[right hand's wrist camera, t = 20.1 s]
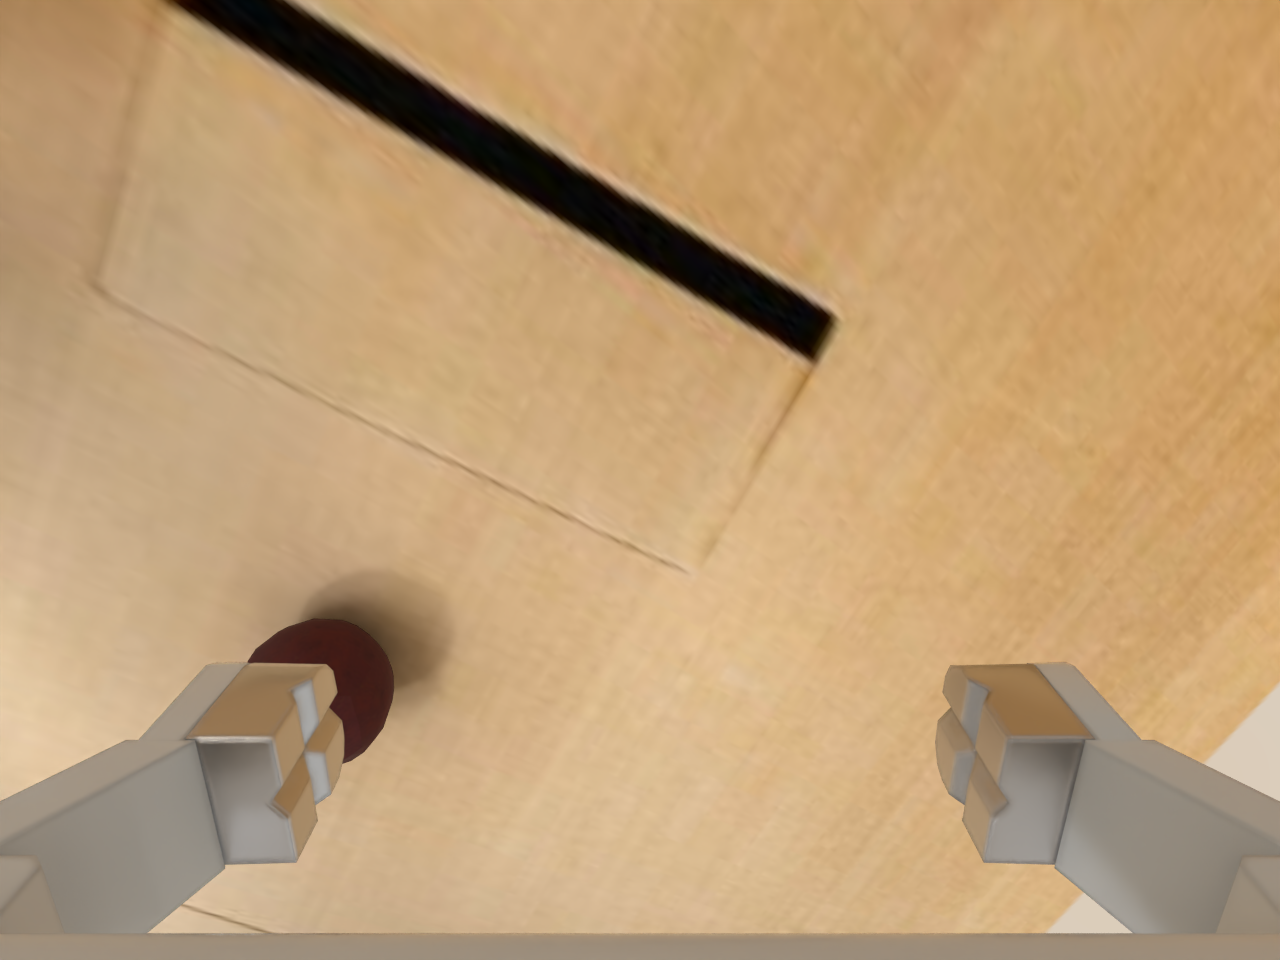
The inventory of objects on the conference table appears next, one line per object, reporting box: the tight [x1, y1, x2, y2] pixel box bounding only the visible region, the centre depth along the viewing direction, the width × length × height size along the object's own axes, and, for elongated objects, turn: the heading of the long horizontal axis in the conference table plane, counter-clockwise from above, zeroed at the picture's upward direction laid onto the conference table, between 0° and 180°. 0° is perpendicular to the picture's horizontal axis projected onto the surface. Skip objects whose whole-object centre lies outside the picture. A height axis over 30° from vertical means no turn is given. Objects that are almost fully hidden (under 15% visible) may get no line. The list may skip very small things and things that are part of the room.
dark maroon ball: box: [248, 619, 394, 764], centre depth 41 cm, size 7×8×7 cm
